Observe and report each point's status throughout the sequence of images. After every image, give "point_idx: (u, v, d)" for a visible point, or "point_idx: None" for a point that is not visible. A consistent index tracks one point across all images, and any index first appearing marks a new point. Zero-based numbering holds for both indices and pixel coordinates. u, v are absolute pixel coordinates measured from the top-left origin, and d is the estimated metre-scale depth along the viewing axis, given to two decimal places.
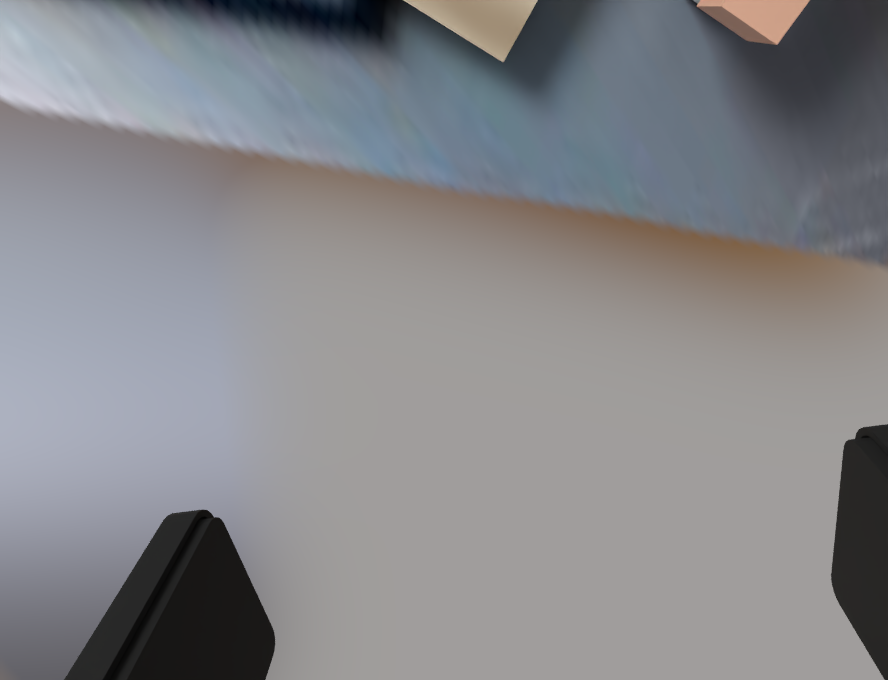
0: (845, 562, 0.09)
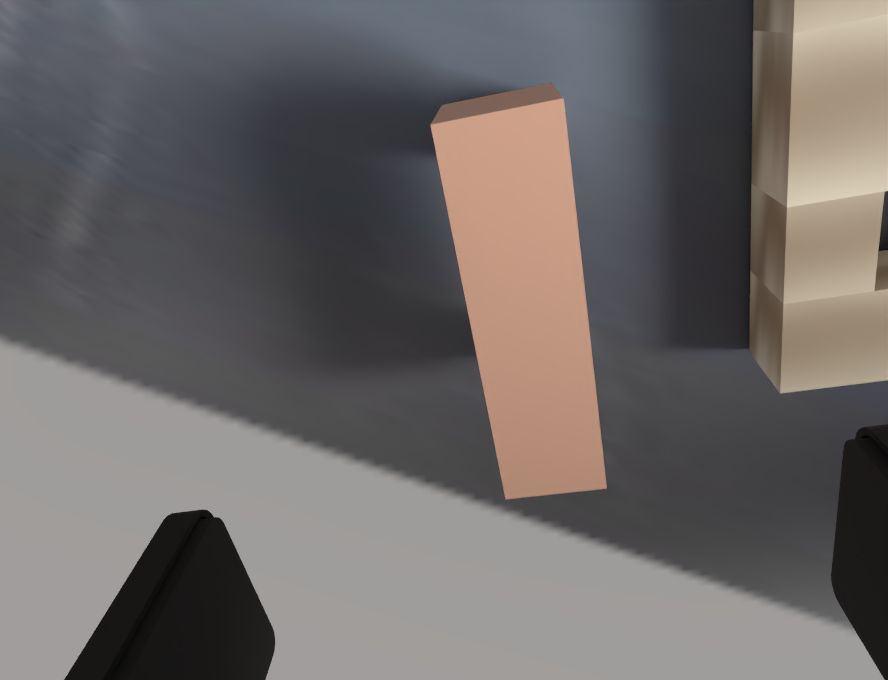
0: (845, 562, 0.09)
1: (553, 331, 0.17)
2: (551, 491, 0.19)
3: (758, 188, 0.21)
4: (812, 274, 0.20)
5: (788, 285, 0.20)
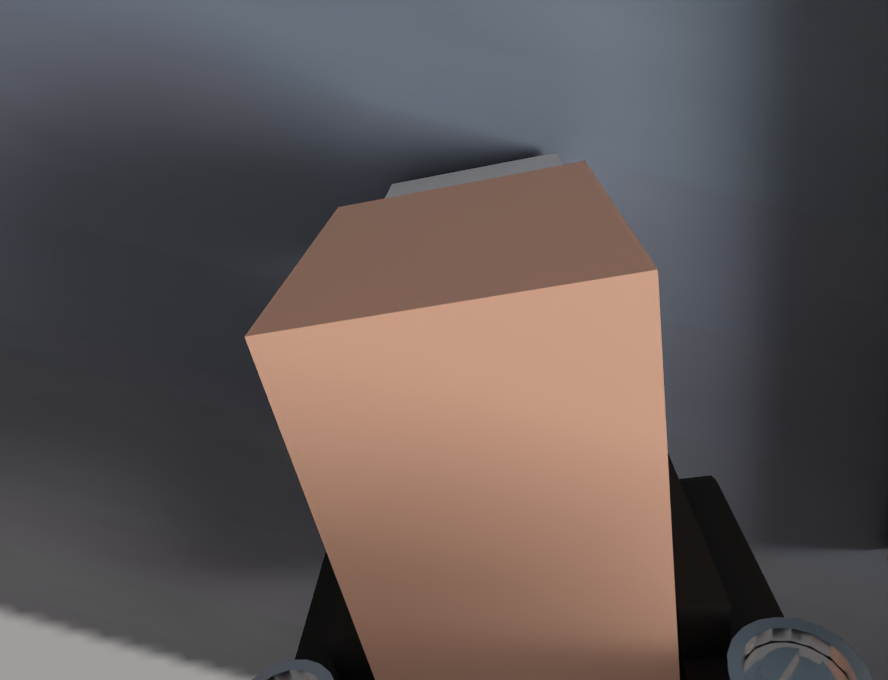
0: None
1: None
2: None
3: None
4: None
5: None
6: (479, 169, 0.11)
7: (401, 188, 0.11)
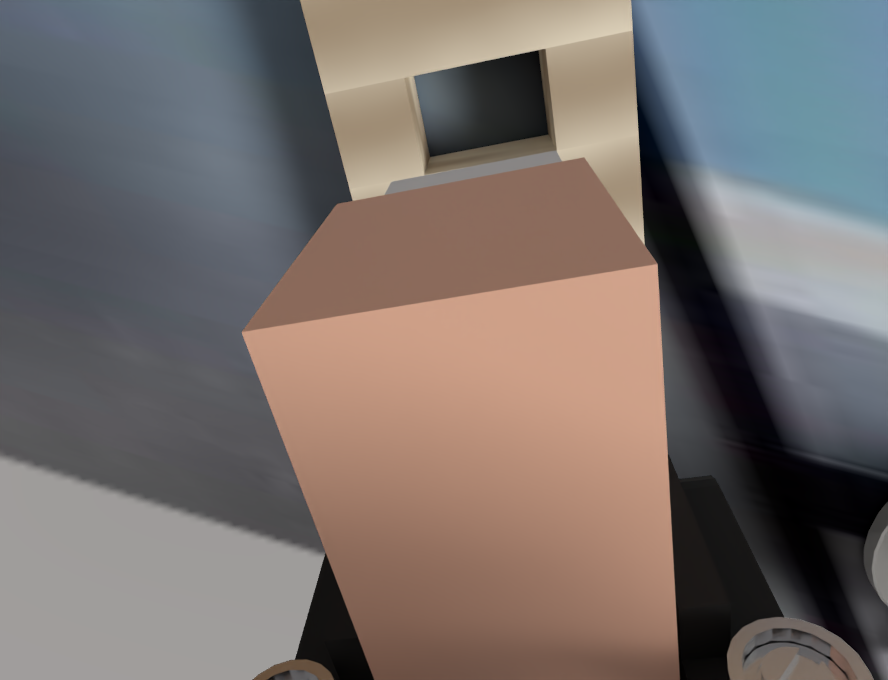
0: None
1: None
2: None
3: None
4: None
5: None
6: (479, 167, 0.11)
7: (400, 186, 0.11)
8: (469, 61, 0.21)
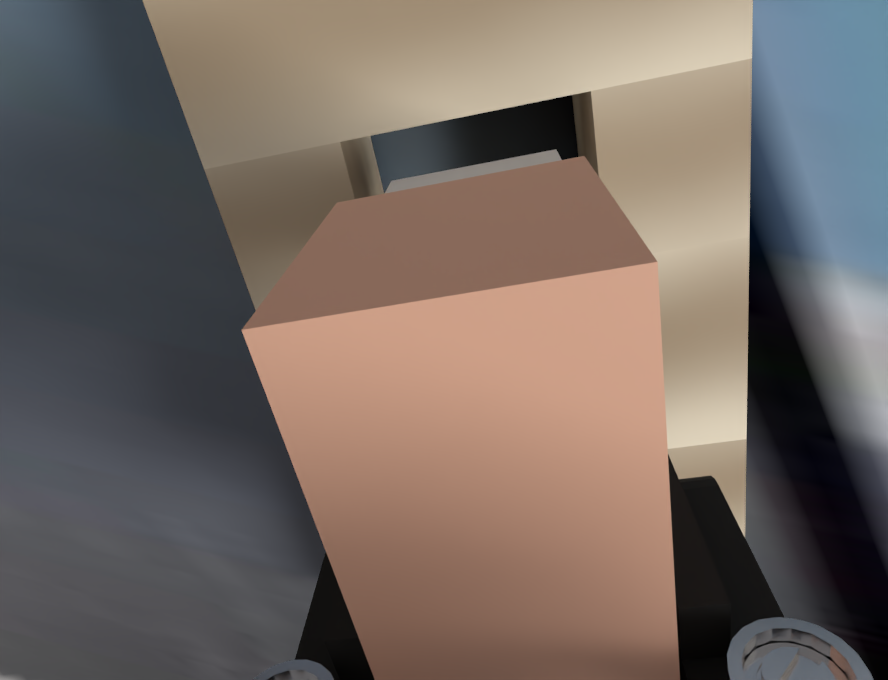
0: None
1: None
2: None
3: None
4: None
5: None
6: (478, 166, 0.11)
7: (400, 185, 0.11)
8: (454, 114, 0.12)
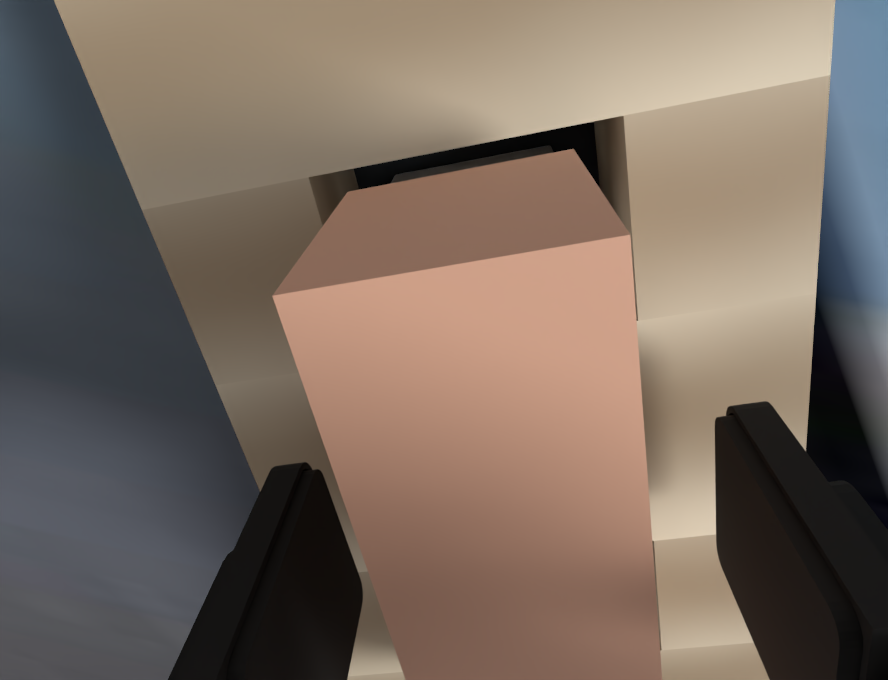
0: (722, 529, 0.10)
1: None
2: None
3: None
4: (362, 648, 0.14)
5: None
6: (477, 160, 0.12)
7: (404, 178, 0.12)
8: (450, 143, 0.09)
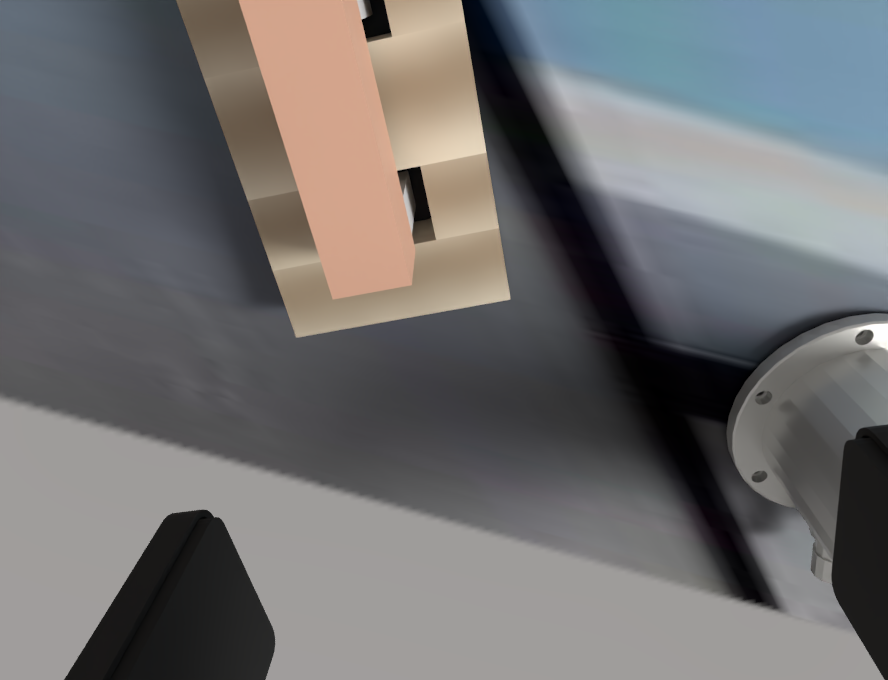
0: (845, 562, 0.09)
1: (348, 143, 0.21)
2: (368, 289, 0.24)
3: None
4: (284, 248, 0.28)
5: (270, 257, 0.28)
6: None
7: None
8: None
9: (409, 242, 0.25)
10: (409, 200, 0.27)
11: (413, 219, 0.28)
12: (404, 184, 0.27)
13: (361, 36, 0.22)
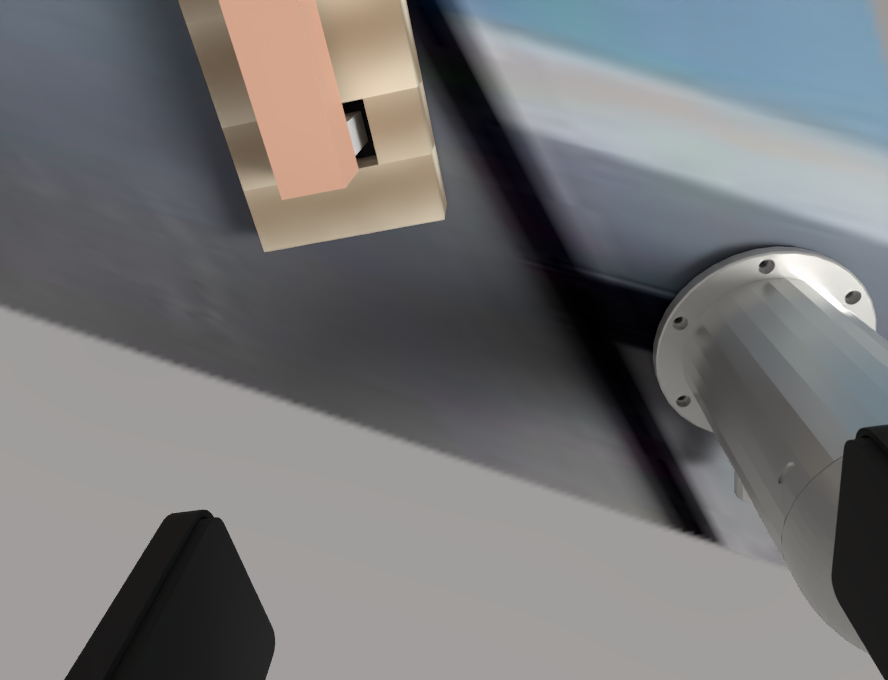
0: (845, 562, 0.09)
1: (289, 63, 0.26)
2: (310, 191, 0.29)
3: None
4: (252, 171, 0.33)
5: (241, 179, 0.33)
6: None
7: None
8: None
9: (349, 158, 0.30)
10: (357, 131, 0.33)
11: (361, 148, 0.33)
12: (352, 117, 0.32)
13: None
